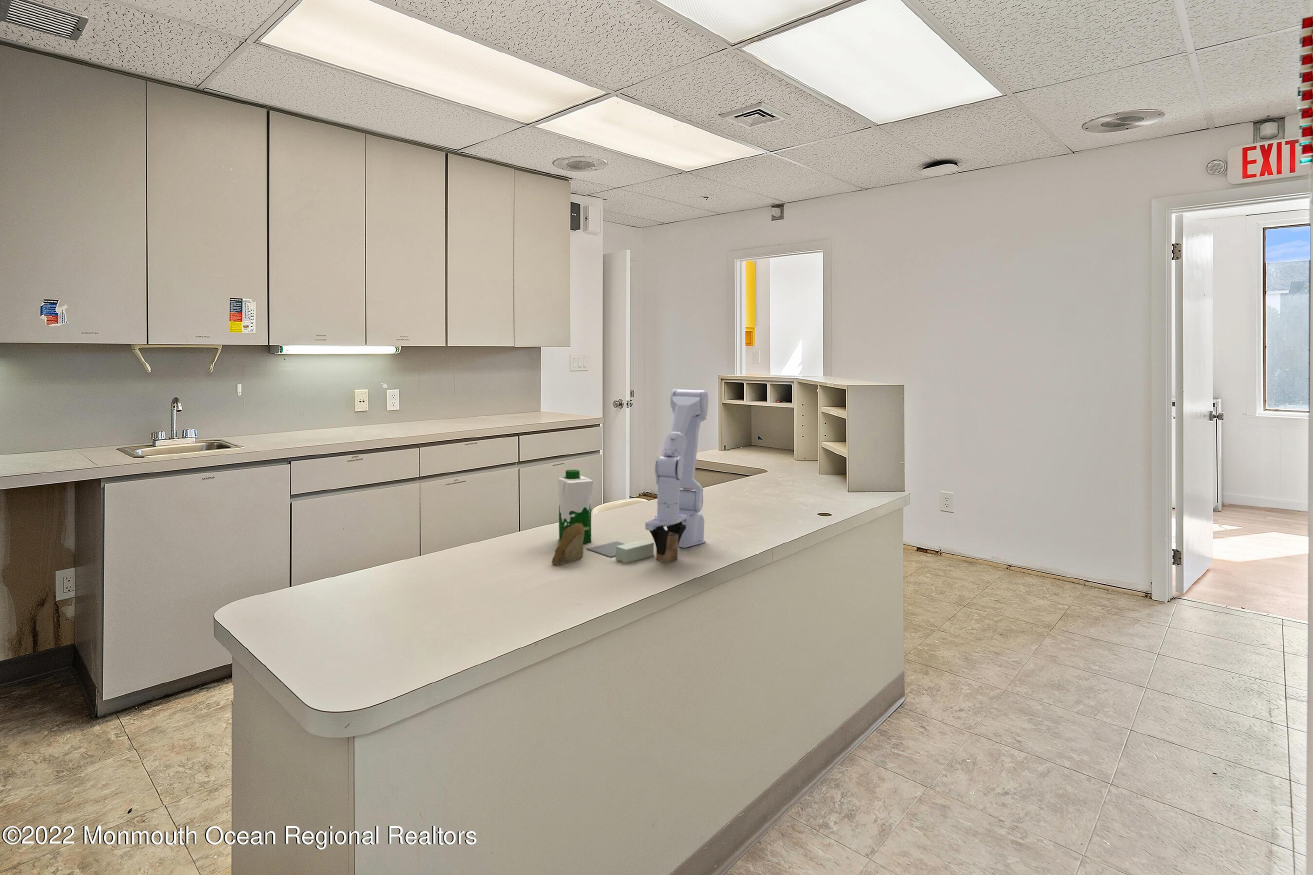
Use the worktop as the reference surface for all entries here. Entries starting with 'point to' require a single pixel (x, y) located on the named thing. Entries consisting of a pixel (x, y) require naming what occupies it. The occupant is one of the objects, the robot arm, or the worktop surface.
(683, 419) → the robot arm
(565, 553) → the rock
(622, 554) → the pale green rectangular block
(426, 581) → the worktop surface
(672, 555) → the walnut block
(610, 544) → the mat
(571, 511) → the milk carton
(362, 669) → the worktop surface
